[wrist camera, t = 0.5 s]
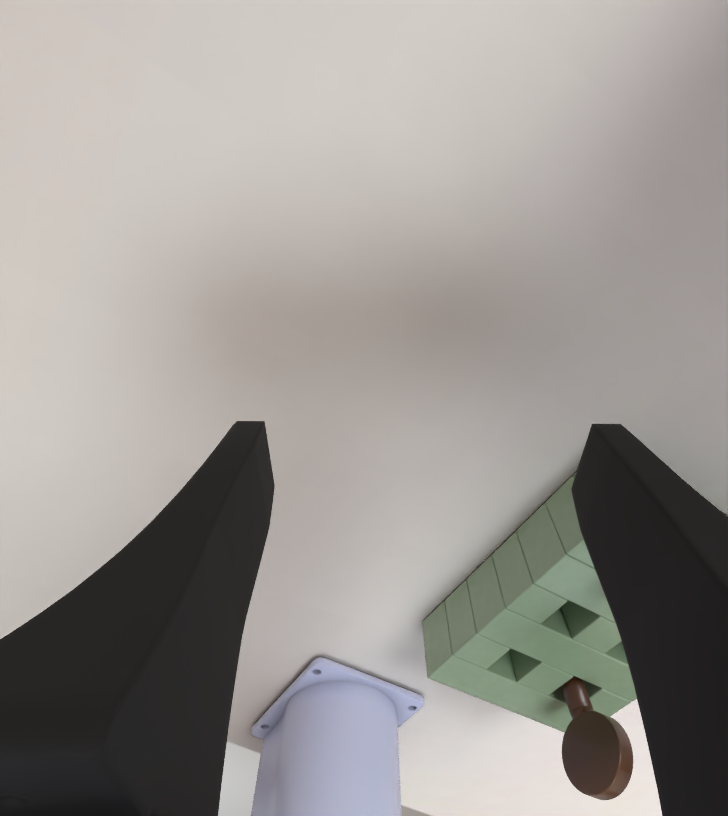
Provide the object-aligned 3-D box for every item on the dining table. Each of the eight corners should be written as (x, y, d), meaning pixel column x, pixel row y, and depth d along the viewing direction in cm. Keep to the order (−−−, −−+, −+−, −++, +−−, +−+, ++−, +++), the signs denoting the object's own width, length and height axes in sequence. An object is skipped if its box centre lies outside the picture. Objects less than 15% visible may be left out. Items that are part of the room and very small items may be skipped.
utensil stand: (560, 681, 35) (578, 738, 32) (421, 621, 32) (427, 678, 29) (757, 533, 28) (804, 587, 25) (605, 442, 25) (637, 491, 22)
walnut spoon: (585, 622, 32) (648, 781, 25) (543, 655, 33) (591, 814, 26) (569, 614, 31) (629, 774, 24) (528, 648, 33) (572, 807, 26)
